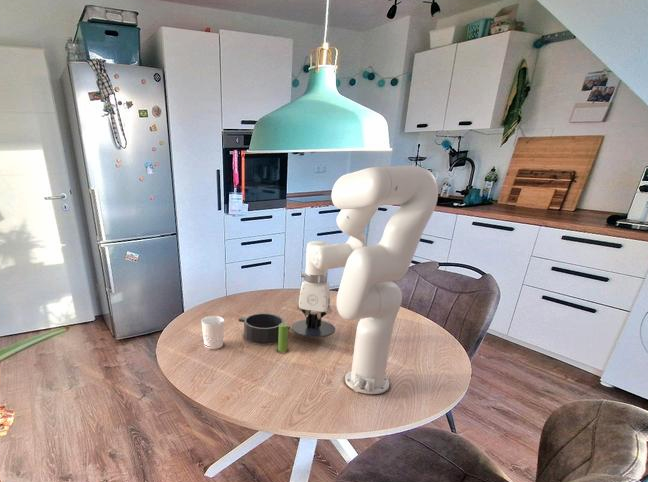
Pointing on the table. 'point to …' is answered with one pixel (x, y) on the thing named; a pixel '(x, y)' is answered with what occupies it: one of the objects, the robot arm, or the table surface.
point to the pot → (262, 328)
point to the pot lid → (313, 328)
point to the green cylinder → (283, 337)
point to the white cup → (213, 331)
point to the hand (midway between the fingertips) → (313, 327)
